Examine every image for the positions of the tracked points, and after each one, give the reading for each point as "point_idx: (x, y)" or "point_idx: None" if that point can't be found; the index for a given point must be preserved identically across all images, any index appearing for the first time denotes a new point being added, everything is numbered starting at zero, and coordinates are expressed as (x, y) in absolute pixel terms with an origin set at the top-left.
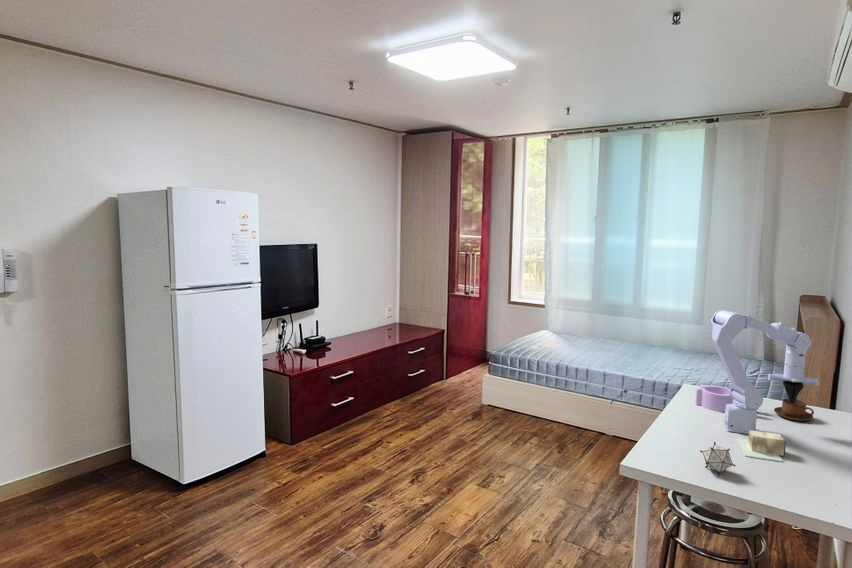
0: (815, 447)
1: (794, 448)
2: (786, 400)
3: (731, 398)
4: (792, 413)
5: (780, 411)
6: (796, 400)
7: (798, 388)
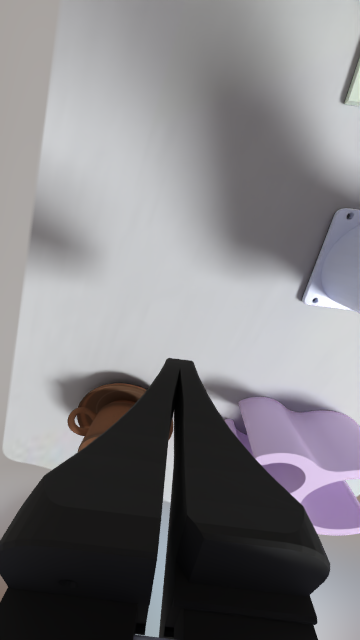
0: (150, 130)
1: (253, 73)
2: None
3: (327, 459)
4: None
5: None
6: None
7: (117, 468)
